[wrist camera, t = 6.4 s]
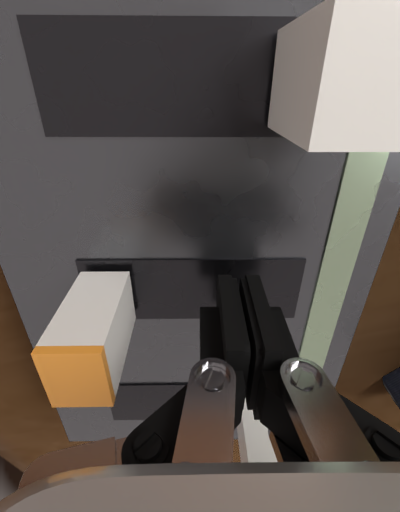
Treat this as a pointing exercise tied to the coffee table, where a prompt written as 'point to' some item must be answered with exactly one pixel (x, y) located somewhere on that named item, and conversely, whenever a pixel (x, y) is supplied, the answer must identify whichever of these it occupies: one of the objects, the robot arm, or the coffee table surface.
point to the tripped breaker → (87, 341)
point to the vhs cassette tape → (393, 385)
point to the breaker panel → (174, 184)
